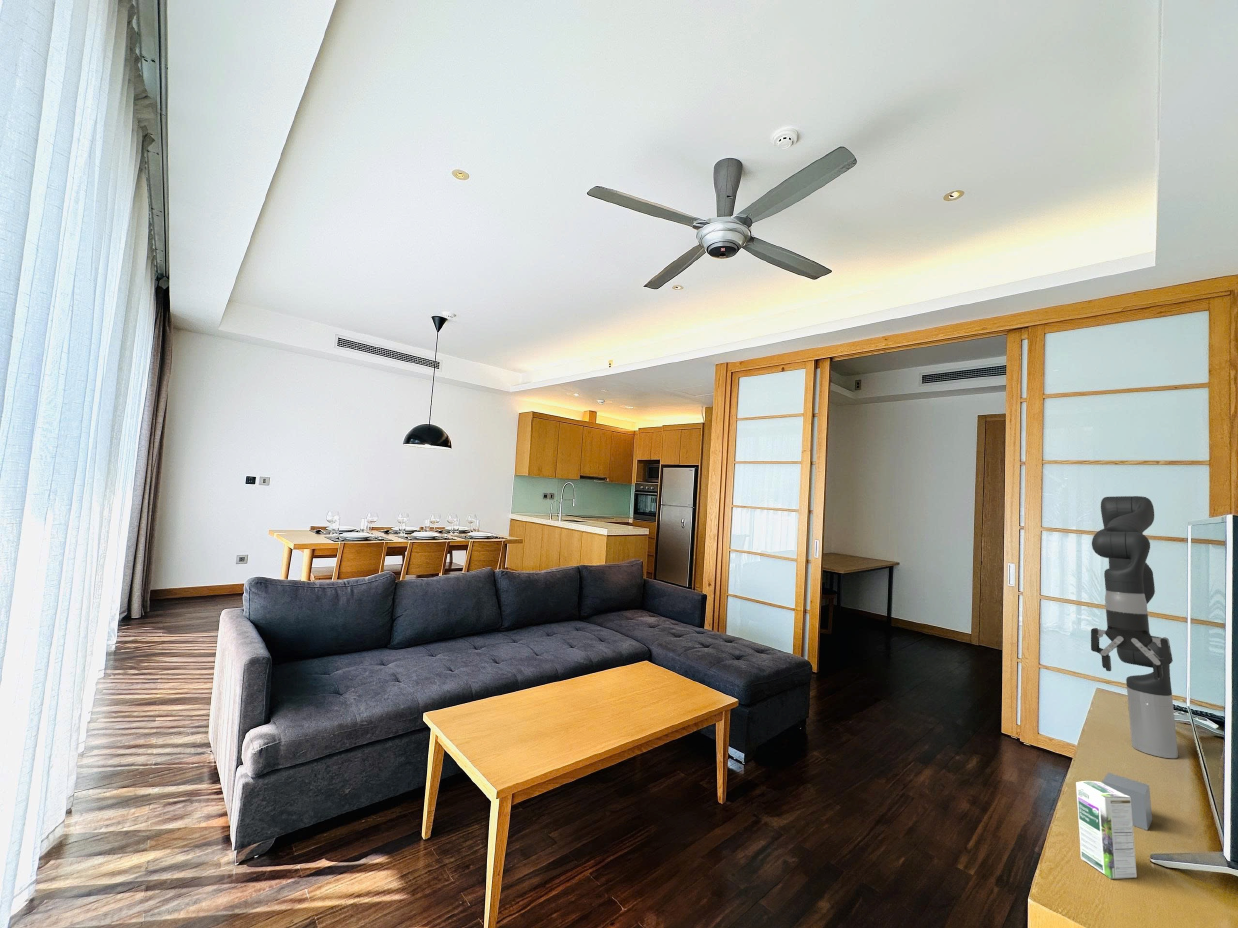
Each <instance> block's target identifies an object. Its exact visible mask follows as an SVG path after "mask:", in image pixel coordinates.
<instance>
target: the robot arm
mask: <svg viewBox="0 0 1238 928" xmlns="http://www.w3.org/2000/svg"><path fill="white" fill-rule="evenodd" d="M1100 501H1101V502H1100V512H1101V513H1100V514H1101V520H1102V524H1103V528H1102V529H1100V530H1098V531H1096V533H1095V534H1094V535H1093V537H1092V540H1091V547H1092V550H1093V552H1094V553H1095V554H1097V555H1098V556H1099V557H1101V558H1105V559H1108V568H1106V569H1105V570H1104V575H1103V577H1104V585H1105V587H1104V588H1105V595H1104V601H1105V603H1104V607H1105V614H1106V626H1107V627H1106V629H1101V628H1098V627H1093V628H1091V629H1090V650H1091V651H1092V652H1094V653H1097V654H1099V655H1100V656H1101V665H1102V668H1103V669H1105V671H1107V672H1111V671H1112V662H1111V661H1112V660H1111V655H1110V653H1111V652H1112V651H1114V650H1115V649H1116V653H1117V656H1118V658H1119V660H1120V661H1121V662H1122V663H1125V664H1129V665H1133V666H1141V667H1146V668H1152V672H1150V673H1146V674H1140V675H1139V674H1138V675H1135V674H1134V675H1130V676H1129V675H1128V676H1127V677H1126V679H1125V683H1126V693H1127V695H1126V696H1127V702H1128V703H1127V704H1128V715H1129V725H1130V738H1131V747H1133V749H1136V750H1137V751H1139V752H1142V753H1145V754H1147V755H1150V756H1153V757H1154V756H1155V757H1159V758H1165V759H1177V758H1179V753H1178V741H1177V731H1176V729H1177V728H1176V721H1175V712H1174V705H1173V704H1174V702H1173V690H1172V683H1171V669H1170V668H1171V664H1172V663H1173V662H1174V661H1173V654H1172V649H1171V644H1170V640H1169V638H1168V637H1166V636H1165V637H1161V636H1156V635H1155V636H1154V635H1151V633H1150V624H1149V623H1150V622H1149V613H1148V604H1149V602H1150V601H1151V600H1152V599H1153V597H1154V595H1155V594H1156V593H1155V592H1156V590H1155V589H1156V588H1155V580H1154V579H1155V578H1154V573H1153V572H1154V571H1153V569H1152V568H1151V567H1150V564H1148V563H1147V559H1148V556H1149V555H1150V550H1151V542H1150V540H1149V538H1148V537H1147V536H1146V535H1145V534H1144V532H1145V531H1146V530H1147V529H1149V528H1150V527H1151V526H1152V524H1154V520H1155V509H1154V504H1153V502H1152V501H1151V499H1150V498H1148V497H1147V496H1142V495H1141V496H1138V495H1136V496H1135V495H1132V496H1131V495H1128V496H1127V495H1125V496H1123V495H1122V496H1121V495H1120V496H1105V497H1103V498H1102V499H1101V500H1100ZM1104 635H1105V636H1106V637H1107V638H1108V639H1109V641H1111V642H1110V643H1109V644H1107V645H1106V646H1105V647H1104V648H1102V647H1100V638H1103V636H1104Z"/></svg>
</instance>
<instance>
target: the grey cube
mask: <svg viewBox="0 0 1238 928" xmlns="http://www.w3.org/2000/svg"><path fill="white" fill-rule="evenodd" d="M1101 783H1103V784H1105V785H1107V786H1109V787H1111V788H1113V789H1115V790H1116V791H1118V792H1120V793H1122V794H1124V795H1127V796H1129V797H1130V798H1131V809H1132V822H1133V827H1136V828H1139V829H1142V830H1144V831H1148V830H1149V829H1150V826H1151V824H1152V822H1153V815H1152V814H1153V812H1152V801H1151V791H1150V784H1146V783H1145V782H1141V781H1138V780H1134V779H1131V778H1128V777H1124V776H1121V775H1118V774H1114V773H1111V772H1107V774H1106V775H1105V777H1104V778H1103V779H1102V781H1101Z"/></svg>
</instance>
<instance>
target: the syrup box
mask: <svg viewBox="0 0 1238 928" xmlns="http://www.w3.org/2000/svg"><path fill="white" fill-rule="evenodd" d="M1075 788H1076V804H1077V817H1078V831H1079V833H1078V834H1079V848H1080V849H1079V851H1080V859H1081V860H1082V861H1083V862H1086V863H1088V865H1090V866H1092V867H1093V868H1095V869H1096V870H1097V871H1099V872H1100V873H1102V874H1103V875H1104V876H1106V877H1107V878H1109V879H1111V880H1113V879H1114V880H1117V879H1120V880H1121V879H1133V878H1137V877H1138V875H1137V864H1136V863H1137V861H1136V852H1135V851H1136V850H1135V848H1136V847H1135V836H1134V826H1133V822H1132V809H1131V798H1130V797H1129V796H1127V795H1124V794H1122V793H1120V792H1118V791H1116V790H1115V789H1113V788H1111V787H1109V786H1107V785H1105V784H1103V783H1102V781H1094V780H1084V781H1083V780H1082V781H1076V782H1075Z"/></svg>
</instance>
